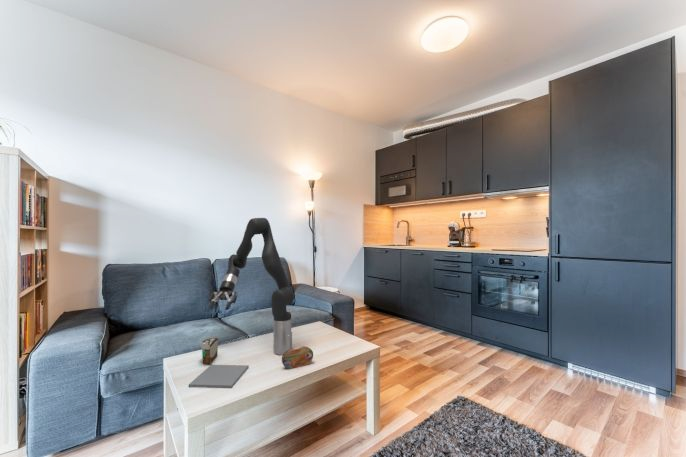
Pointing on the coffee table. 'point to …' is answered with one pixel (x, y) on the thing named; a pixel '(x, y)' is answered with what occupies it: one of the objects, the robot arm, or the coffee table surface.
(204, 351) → the food container
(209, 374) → the slate board
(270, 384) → the coffee table surface
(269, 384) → the coffee table surface
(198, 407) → the coffee table surface
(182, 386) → the coffee table surface
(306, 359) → the tin
